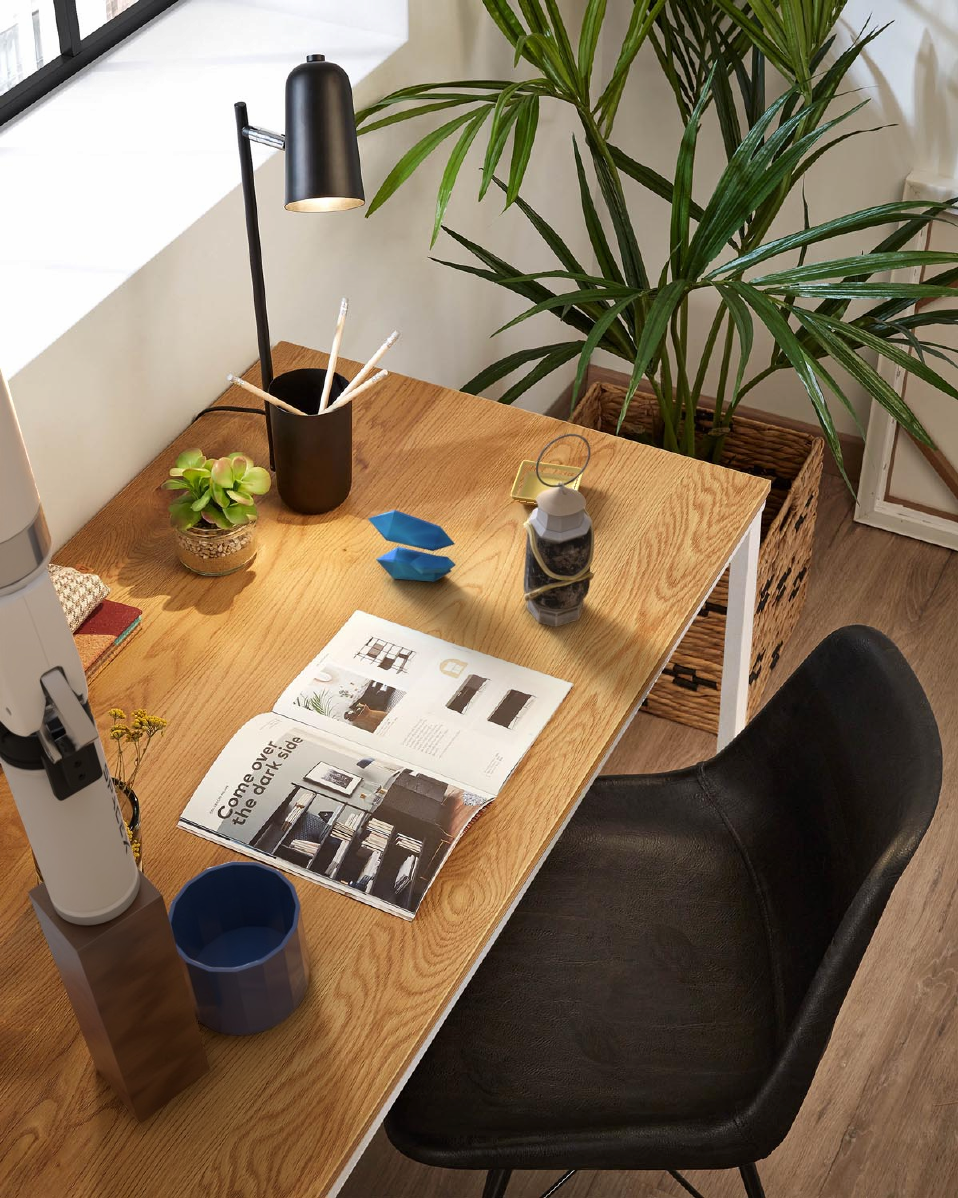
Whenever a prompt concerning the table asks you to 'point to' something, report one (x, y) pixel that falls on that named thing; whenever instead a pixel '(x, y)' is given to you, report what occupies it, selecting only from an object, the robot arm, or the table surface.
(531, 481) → the yellow basket
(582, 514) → the lantern
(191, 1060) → the plinth
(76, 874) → the travel mug
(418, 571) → the blue crystals
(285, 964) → the crock
